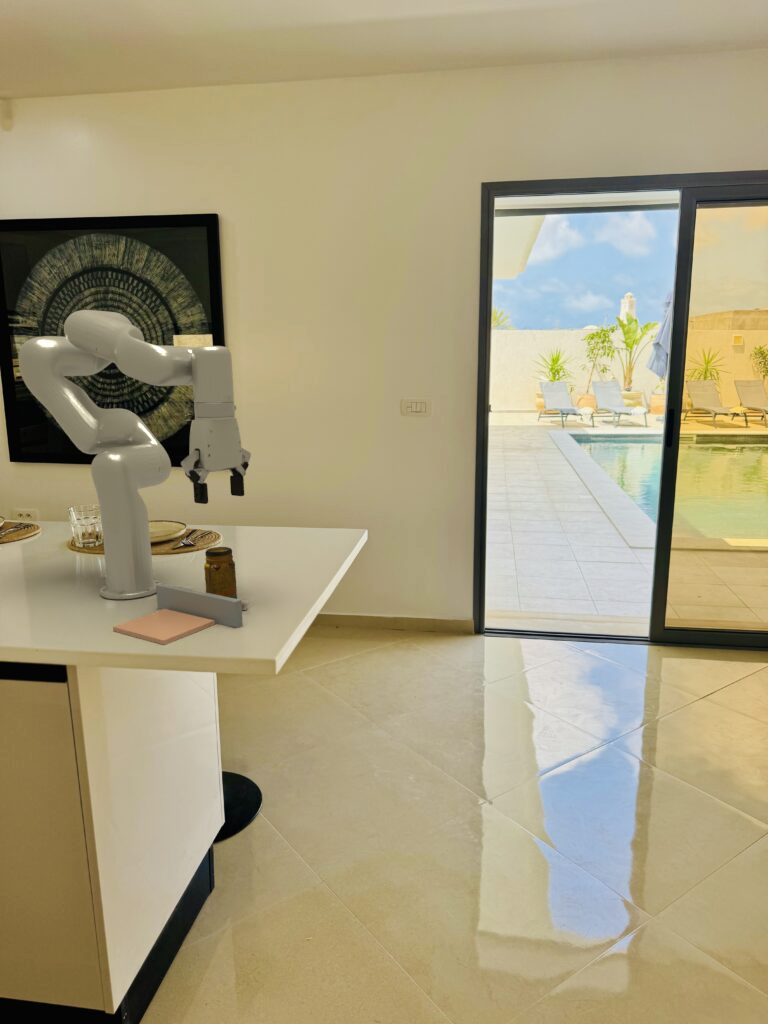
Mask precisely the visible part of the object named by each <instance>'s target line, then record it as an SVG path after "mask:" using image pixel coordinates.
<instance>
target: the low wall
mask: <svg viewBox="0 0 768 1024" xmlns="http://www.w3.org/2000/svg"><path fill="white" fill-rule="evenodd" d="M156 600H157V601H156V602H157V603H156V604H157V610H162V609H168V610H172V611H177V612H181V613H185V614H189V615H193V616H198V617H202V618H206V619H210V620H215V624H219V625H223V626H227V627H232V628H235V627H236V628H237V629H238V628H240V627H242V626H243V625H244V624H243V610H242V605H241V600H242V599H240V598H237V599H234V598H230V597H225V596H220V595H215V594H210V593H206V592H205V591H201V590H196V589H192V588H191V589H190V588H186V587H181V586H176V585H171V584H166V583H161V584H158V585H156Z"/></svg>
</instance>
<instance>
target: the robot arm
mask: <svg viewBox="0 0 768 1024" xmlns="http://www.w3.org/2000/svg"><path fill="white" fill-rule="evenodd" d="M63 332H64V336H58V335H57V336H56V335H55V336H54V335H43V336H36V337H33V338H29V339H28V340H27V341H24V343H23V344H22V346H21V347H20V349H19V352H18V365H19V371H20V374H21V378H22V380H23V382H24V384H25V386H26V387H27V388H28V390H29V392H31V394H32V395H33V396H34V397H35V398H36V400H38V401H39V402H40V404H41V405H43V407H44V408H45V409H47V410H48V412H49V413H50V414H51V416H52V417H53V418H54V420H56V422H57V423H58V424H59V427H60V428H61V429H62V430H63V432H64V433H65V434H66V436H68V438H69V439H70V441H71V442H72V443H73V444H74V445H75V447H76V448H77V449H78V450H79V451H81V452H82V453H84V454H87V455H95V457H94V458H93V460H92V461H91V466H90V471H91V472H90V473H91V478H92V481H93V485H94V488H95V490H96V494H97V500H98V503H99V504H98V505H99V512H100V513H99V514H100V521H101V522H100V523H101V530H102V532H101V533H102V539H103V540H102V541H103V550H104V551H103V552H104V560H105V570H104V571H103V572H100V574H99V578H100V579H103V580H105V585H103V586H102V587H101V588H100V590H99V591H100V596H102V597H103V598H105V599H109V600H131V599H138V598H139V599H140V598H143V597H147V596H151V595H153V594H157V592H156V585H158V584H162V582H161V581H159V580H158V579H154V569H153V557H152V547H151V535H150V522H149V515H148V514H149V512H148V507H147V505H146V503H145V501H144V499H143V497H142V496H141V494H140V492H139V490H141V489H145V488H149V487H154V486H158V485H161V484H163V483H164V482H166V481H167V480H168V478H170V477H169V476H170V475H171V472H172V462H171V459H170V457H169V454H168V453H167V451H166V449H165V448H164V446H163V445H162V444H161V443H160V441H159V440H158V439H157V438H156V437H155V435H154V433H152V431H151V430H150V429H149V428H148V426H147V425H146V424H145V422H143V420H142V419H141V418H140V417H139V415H137V414H136V413H134V412H132V411H131V410H129V409H125V408H120V407H119V408H101V407H99V406H98V405H97V404H95V402H94V401H93V400H92V399H91V398H90V397H89V395H88V394H87V393H86V391H85V390H84V389H82V387H81V386H78V384H76V383H75V382H73V381H72V380H70V379H68V378H67V377H86V376H93V375H95V374H98V373H100V372H101V371H102V370H104V369H105V368H107V367H109V365H111V364H112V363H113V364H115V366H116V367H117V368H118V369H119V371H120V373H122V374H124V375H125V376H127V377H130V378H132V379H135V380H136V381H140V382H143V383H145V384H148V385H150V386H151V385H152V386H157V387H168V386H169V387H173V386H176V387H177V386H183V387H184V386H192V391H193V402H194V403H193V408H194V419H192V420H191V424H190V431H189V455H187V456H186V457H185V458H184V459H183V460H182V461H180V465H181V467H182V469H183V471H184V474H185V476H186V477H187V478H188V479H189V482H190V483H191V484H192V486H193V497H194V498H193V499H194V500H193V501H194V503H195V504H199V505H200V504H201V505H207V504H208V503H209V491H208V490H209V489H208V484H207V482H205V481H206V479H207V478H208V475H209V473H215V472H220V471H222V472H223V471H227V470H229V471H230V473H231V475H229V482H230V483H229V484H230V485H229V487H230V495H231V496H235V497H244V496H245V482H244V481H245V479H244V477H245V476H246V475H247V469H248V468H249V465H250V464H249V462H250V460H251V456H252V454H251V452H250V451H248V450H246V449H245V448H243V447H242V442H241V441H242V440H241V434H240V427H239V424H238V420H237V417H236V413H235V412H236V411H237V406H236V405H235V397H234V395H235V394H234V393H235V391H234V381H233V380H234V378H233V375H234V374H233V361H232V360H233V359H232V358H233V357H232V353H231V350H230V348H228V347H226V346H222V345H207V346H206V345H201V346H200V345H199V346H196V347H195V346H185V345H183V346H181V345H158V344H152V343H149V342H147V341H145V336H144V335H143V333H142V331H141V329H140V328H138V327H137V326H136V325H133V324H132V322H131V321H130V319H129V318H128V317H127V316H125V315H124V314H121V313H119V312H115V311H106V310H95V309H94V310H93V309H81V310H77V311H74V312H72V313H70V314H69V316H68V317H67V318H66V319H65V321H64V324H63Z"/></svg>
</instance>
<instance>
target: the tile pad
mask: <svg viewBox="0 0 768 1024" xmlns="http://www.w3.org/2000/svg"><path fill="white" fill-rule="evenodd" d="M214 625H216V623H215V620H210V619H206V618H202V617H198V616H193V615H189V614H185V613H181V612H177V611H172V610H168V609H162V610H160V609H158V610H156V611H154V612H152V613H148V614H146V615H142V616H140V617H137V618H135V619H132V620H128V621H125V622H122V623H120V624H117V625H114V626H112V630H113V632H117V633H120V634H123V635H126V636H131V637H134V638H138V639H142V640H145V641H149V642H153V643H156V644H160V645H162V646H163V645H164V646H166V645H168V644H170V643H172V642H175V641H177V640H180V639H183V638H185V637H188V636H190V635H192V634H195V633H197V632H200V631H202V630H204V629H207V628H211V627H213V626H214Z"/></svg>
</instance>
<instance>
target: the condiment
mask: <svg viewBox="0 0 768 1024" xmlns="http://www.w3.org/2000/svg"><path fill="white" fill-rule="evenodd" d="M204 554H205V561H206V562H205V563H204V567H203V568H204V579H205V580H204V581H205V591H206V593H210V594H215V595H220V596H225V597H230V598H234V599H238V592H237V588H238V587H237V577H236V575H237V573H236V562H235V561H234V559H233V557H234V556H233V549H232V548H231V547H228V546H216V547H215V546H214V547H211V548H207V549H206V550H205V553H204ZM240 600H241V605H242V611H247V609H248V605H249V602H250V599H249V598H248V599H246V598H245V599H240Z"/></svg>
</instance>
